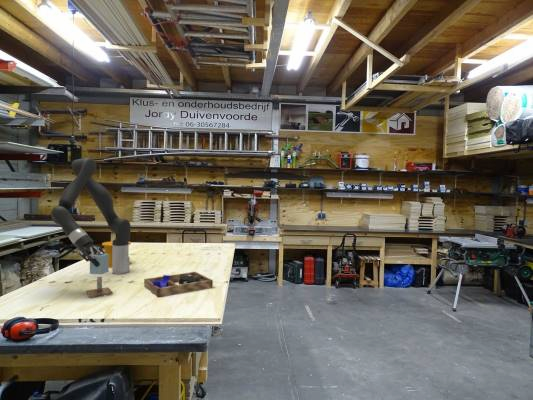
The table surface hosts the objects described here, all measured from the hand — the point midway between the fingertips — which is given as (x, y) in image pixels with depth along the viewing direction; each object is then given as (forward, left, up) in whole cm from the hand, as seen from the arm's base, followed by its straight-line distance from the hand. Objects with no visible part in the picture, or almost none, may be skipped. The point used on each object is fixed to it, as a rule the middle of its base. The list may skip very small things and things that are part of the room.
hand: (102, 264), depth 169 cm
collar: (+1, -1, -4) cm, 5 cm away
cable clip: (-26, +9, -15) cm, 31 cm away
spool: (-21, -62, -15) cm, 67 cm away
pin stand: (+1, -1, -15) cm, 15 cm away
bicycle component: (-44, +9, -15) cm, 47 cm away
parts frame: (-35, +9, -15) cm, 39 cm away
